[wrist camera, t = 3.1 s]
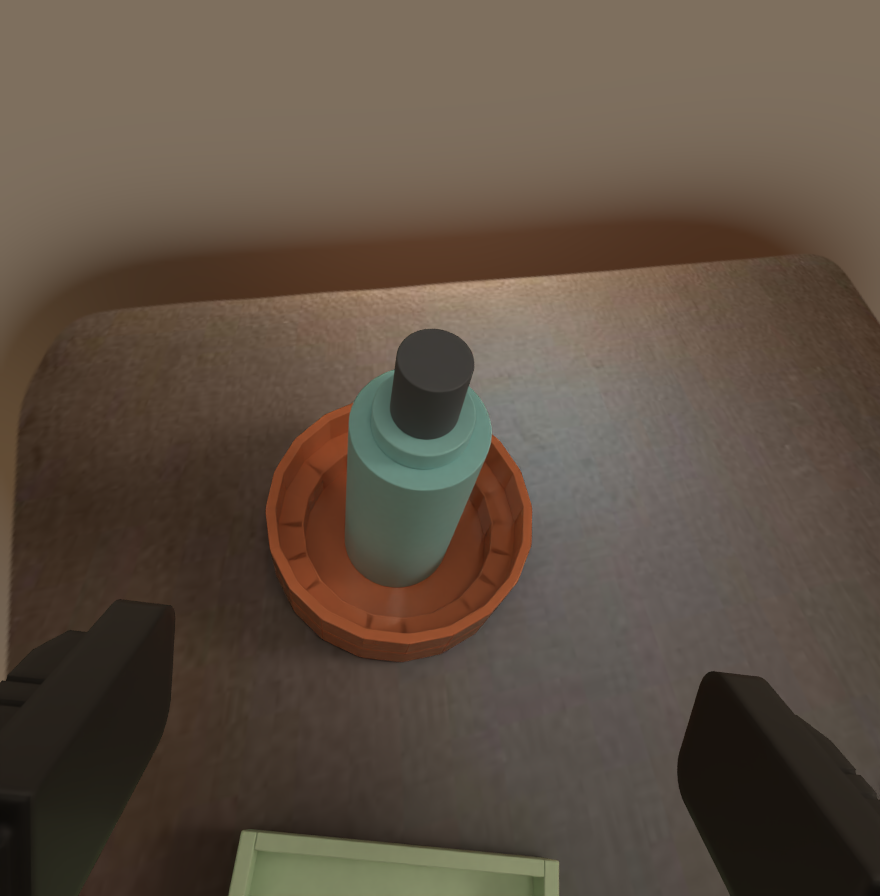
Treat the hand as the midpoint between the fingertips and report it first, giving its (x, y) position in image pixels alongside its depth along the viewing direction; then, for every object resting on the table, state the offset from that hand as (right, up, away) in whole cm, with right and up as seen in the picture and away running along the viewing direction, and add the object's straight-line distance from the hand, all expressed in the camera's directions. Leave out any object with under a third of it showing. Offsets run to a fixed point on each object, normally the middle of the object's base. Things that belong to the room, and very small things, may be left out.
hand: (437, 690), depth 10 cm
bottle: (-3, -2, +29) cm, 29 cm away
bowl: (-3, -2, +29) cm, 30 cm away
